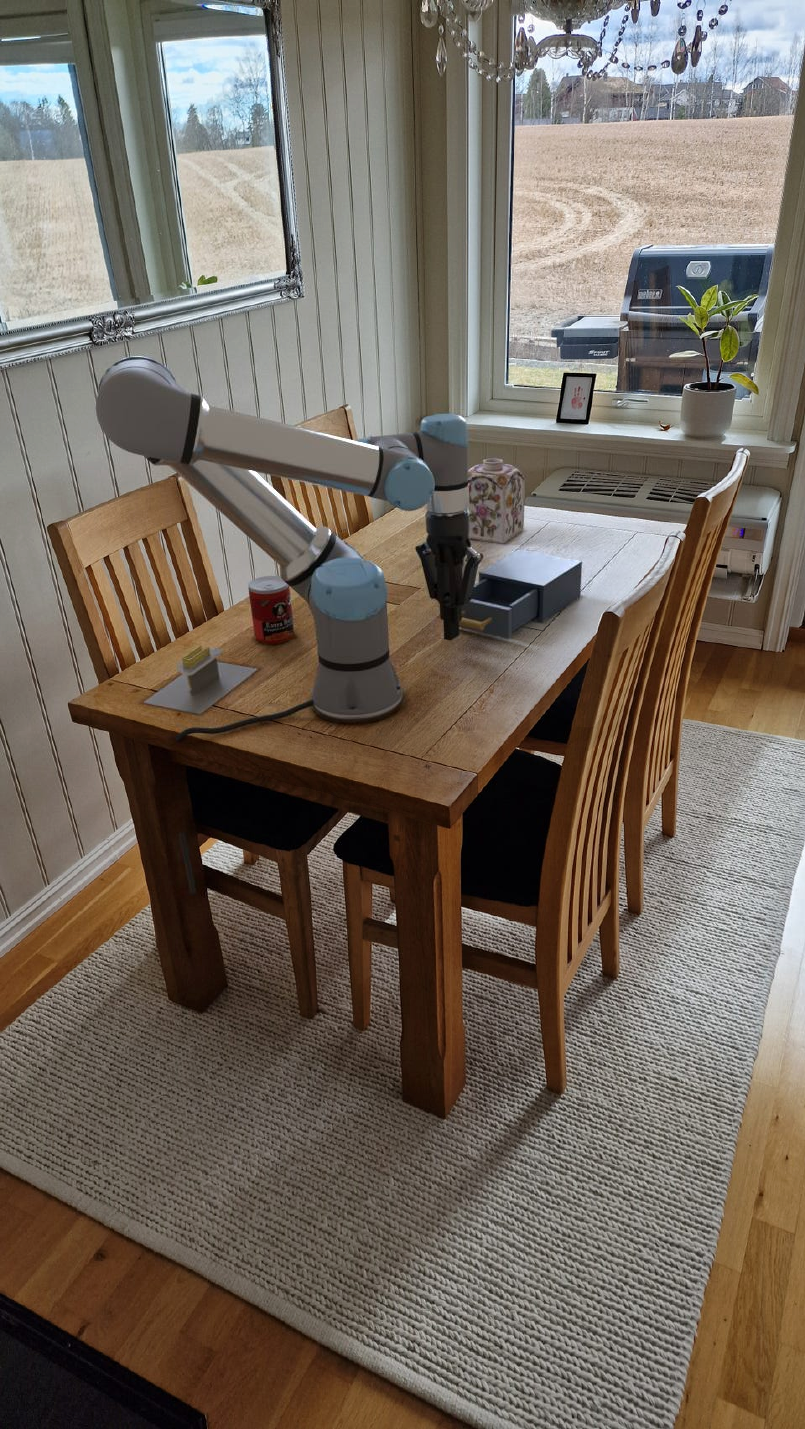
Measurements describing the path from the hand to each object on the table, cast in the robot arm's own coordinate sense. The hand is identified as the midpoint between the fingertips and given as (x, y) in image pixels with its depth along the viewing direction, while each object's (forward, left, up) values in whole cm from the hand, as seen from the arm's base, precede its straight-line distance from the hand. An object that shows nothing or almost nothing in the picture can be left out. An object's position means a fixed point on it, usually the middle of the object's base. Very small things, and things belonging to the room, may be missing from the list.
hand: (451, 637), depth 175 cm
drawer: (+14, +3, -3) cm, 14 cm away
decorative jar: (+54, +42, -4) cm, 68 cm away
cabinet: (+28, +6, -3) cm, 29 cm away
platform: (-39, +23, -4) cm, 45 cm away
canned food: (-18, +31, -4) cm, 36 cm away
